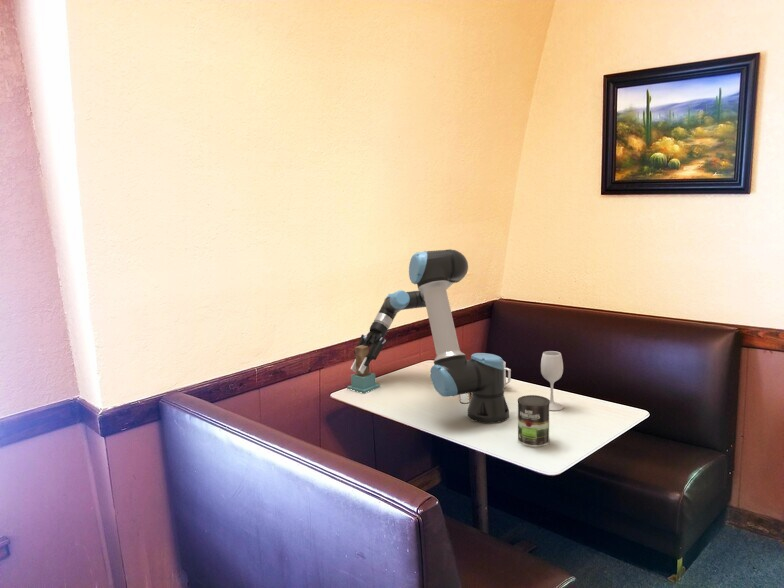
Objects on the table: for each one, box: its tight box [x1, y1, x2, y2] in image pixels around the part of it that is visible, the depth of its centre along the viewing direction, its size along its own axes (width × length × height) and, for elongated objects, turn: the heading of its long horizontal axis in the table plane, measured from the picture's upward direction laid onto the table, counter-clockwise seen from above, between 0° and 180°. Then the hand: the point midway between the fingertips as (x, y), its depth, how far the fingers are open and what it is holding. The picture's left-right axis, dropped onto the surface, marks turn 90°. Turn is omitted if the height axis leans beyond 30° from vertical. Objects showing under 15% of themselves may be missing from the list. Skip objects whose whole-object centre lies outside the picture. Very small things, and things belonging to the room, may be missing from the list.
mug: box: [503, 360, 512, 389], centre depth 251 cm, size 12×9×11 cm
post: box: [354, 345, 371, 377], centre depth 258 cm, size 4×4×16 cm
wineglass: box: [540, 350, 565, 411], centre depth 227 cm, size 9×9×21 cm
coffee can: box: [517, 394, 550, 448], centre depth 198 cm, size 10×10×14 cm
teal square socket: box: [346, 372, 381, 394], centre depth 259 cm, size 10×10×6 cm
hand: (356, 371), depth 256 cm, fingers closed on post, 4 cm apart
